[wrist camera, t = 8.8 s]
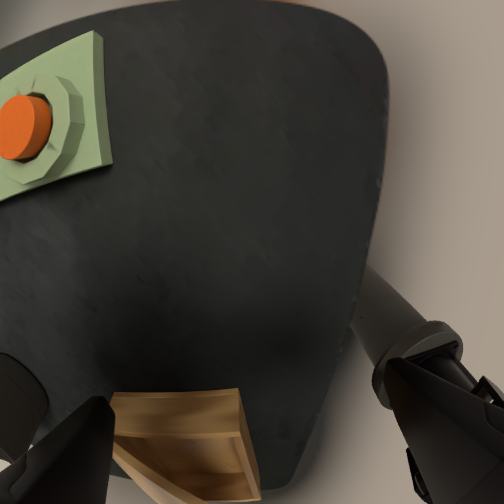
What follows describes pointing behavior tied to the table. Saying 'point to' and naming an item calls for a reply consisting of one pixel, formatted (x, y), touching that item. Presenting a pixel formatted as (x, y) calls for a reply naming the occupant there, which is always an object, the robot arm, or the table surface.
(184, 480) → the wooden case
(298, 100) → the table surface
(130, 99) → the table surface
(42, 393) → the pen holder
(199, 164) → the table surface
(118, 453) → the case lid
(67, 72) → the control block
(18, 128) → the button
